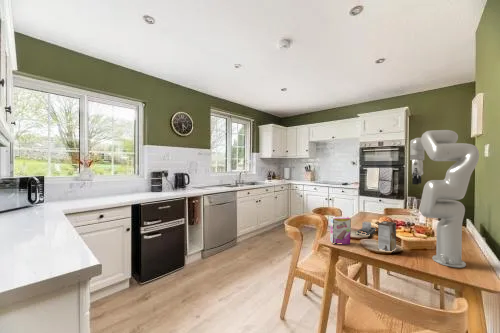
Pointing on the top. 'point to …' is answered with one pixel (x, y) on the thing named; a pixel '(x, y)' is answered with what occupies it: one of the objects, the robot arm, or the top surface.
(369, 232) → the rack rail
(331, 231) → the candy bar box
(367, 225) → the nut block
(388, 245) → the coffee box
